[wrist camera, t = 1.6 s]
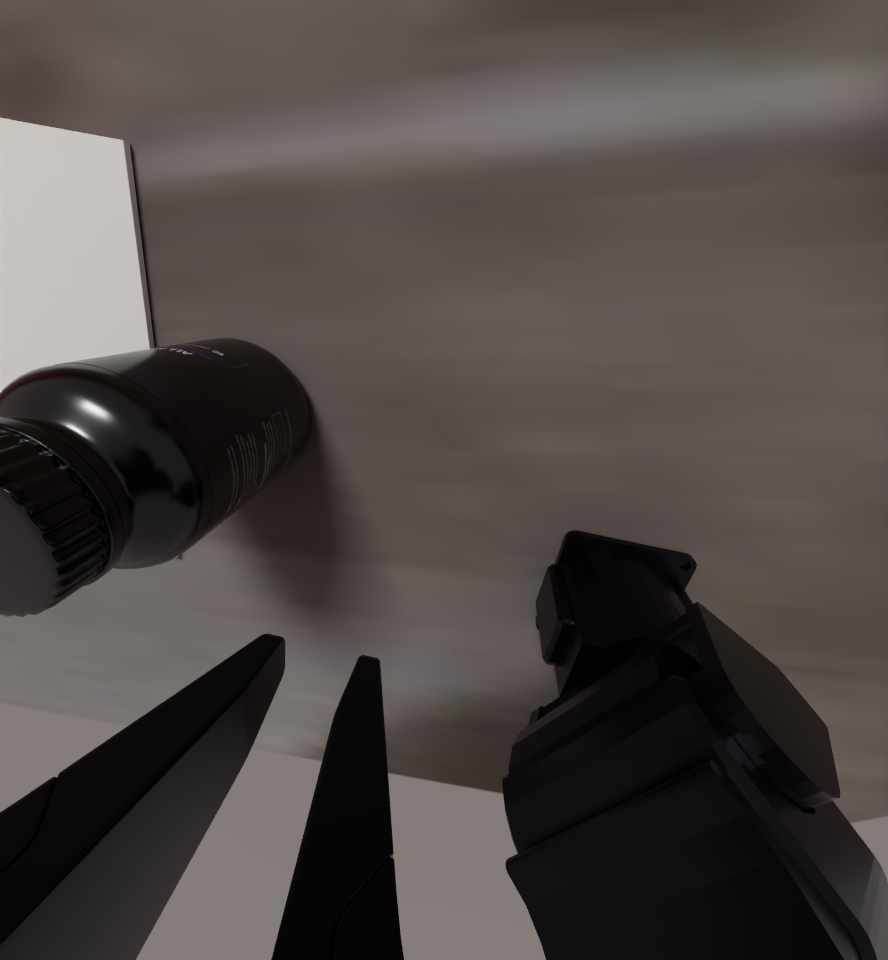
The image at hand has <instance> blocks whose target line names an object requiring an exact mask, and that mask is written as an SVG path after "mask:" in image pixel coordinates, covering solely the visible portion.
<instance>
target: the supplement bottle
mask: <svg viewBox="0 0 888 960" xmlns="http://www.w3.org/2000/svg"><path fill="white" fill-rule="evenodd" d="M309 430H310V415H309V409H308V404H307V401H306V398H305V395H304V392H303V390H302V388H301V386H300V384H299V383H298V381H297V379H296V378H295V377H294V375H293V374H292V373H291V371H290V370H289V369H288V368H287V367H286V366H285V365H284V364H283V363H282V362H281V361H280V360H279V359H278V358H277V357H276V356H274V355H273V354H271V353H270V352H268V351H267V350H265V349H264V348H262V347H260V346H258V345H255V344H253V343H250V342H247V341H243V340H238V339H230V338H221V339H211V340H203V341H197V342H191V343H185V344H179V345H172V346H166V347H160V348H154V349H148V350H141V351H135V352H129V353H123V354H117V355H110V356H104V357H98V358H92V359H86V360H79V361H73V362H67V363H61V364H55V365H52V366H46V367H42V368H39V369H35V370H32V371H30V372H28V373H25V374H23V375H21V376H19V377H18V378H16V379H15V380H14V381H12V382H11V383H9V384H8V385H7V386H6V387H5V388H4V389H3V390H2V391H1V392H0V614H2V615H5V616H12V615H15V616H20V617H24V616H26V615H28V614H31V615H36V614H38V613H41V612H43V611H44V610H46V609H48V608H51V607H53V606H55V605H56V604H58V603H59V602H61V601H62V600H64V599H65V598H66V597H68V596H69V595H71V594H72V593H74V592H75V591H76V590H78V589H79V588H81V587H82V586H86V585H89V584H91V583H94V582H95V581H97V580H98V579H100V578H101V577H102V576H104V575H105V574H106V573H107V572H109V571H110V570H111V569H112V568H115V569H137V568H144V567H150V566H154V565H158V564H162V563H165V562H167V561H170V560H172V559H174V558H176V557H177V556H179V555H181V554H182V553H184V552H185V551H186V550H188V549H189V548H190V547H192V546H193V545H194V544H196V543H197V542H198V541H199V540H201V539H202V538H203V537H204V536H206V535H207V534H208V533H209V532H211V531H212V530H213V529H214V528H215V527H217V526H218V525H219V524H220V523H222V522H223V521H224V520H225V519H227V518H228V517H229V516H230V515H231V514H233V513H234V512H235V511H236V510H238V509H239V508H240V507H241V506H243V505H244V504H245V503H246V502H247V501H249V500H250V499H251V498H252V497H254V496H255V495H256V494H257V493H259V492H260V491H261V490H262V489H263V488H265V487H266V486H267V485H268V484H270V483H271V482H272V481H273V480H275V479H276V478H277V477H278V476H279V475H281V474H282V473H283V472H284V471H285V470H286V469H288V468H289V467H290V466H291V465H292V464H293V463H294V462H295V461H296V460H297V459H298V458H299V456H300V455H301V453H302V452H303V450H304V448H305V446H306V443H307V440H308V436H309Z"/></svg>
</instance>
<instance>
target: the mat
mask: <svg viewBox="0 0 888 960" xmlns="http://www.w3.org/2000/svg"><path fill="white" fill-rule="evenodd" d="M154 348H155V347H154V339H153V331H152V323H151V315H150V306H149V298H148V290H147V282H146V274H145V266H144V257H143V249H142V241H141V233H140V225H139V217H138V208H137V200H136V192H135V184H134V176H133V167H132V159H131V151H130V143H128V142H126V141H124V140H118V139H113V138H108V137H102V136H97V135H91V134H86V133H80V132H75V131H69V130H64V129H58V128H53V127H48V126H42V125H37V124H31V123H26V122H20V121H15V120H9V119H4V118H0V392H1V391H2V390H3V389H4V388H5V387H6V386H7V385H8V384H9V383H11V382H12V381H14V380H15V379H16V378H18V377H19V376H21V375H23V374H25V373H28V372H30V371H32V370H35V369H39V368H42V367H46V366H52V365H55V364H61V363H67V362H73V361H79V360H86V359H92V358H98V357H104V356H110V355H117V354H123V353H129V352H135V351H141V350H148V349H154ZM179 556H180V555H179ZM177 557H178V556H177ZM177 557H176V558H177Z"/></svg>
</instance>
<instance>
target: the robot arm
mask: <svg viewBox="0 0 888 960" xmlns="http://www.w3.org/2000/svg"><path fill="white" fill-rule="evenodd" d="M573 539H578V540H579V541H578V542H577V543H571V541H572V540H573ZM684 562H688V563H687V564H686V565H684V566H680V565H681V564H682V563H684ZM696 566H697V564H696V562H695V560H694V559H693V558H692V556H691V555H689V554H686V553H681V552H677V551H672V550H667V549H662V548H658V547H653V546H648V545H643V544H638V543H634V542H629V541H624V540H619V539H615V538H610V537H605V536H600V535H595V534H591V533H586V532H581V531H570V532H568V533H567V534H566V535H565V537H564V539H563V542H562V545H561V548H560V551H559V554H558V557H557V559H556V562H555V565H554V564H552V565H551V566H549V567H548V568H547V571H546V574H545V577H544V580H543V583H542V586H541V589H540V592H539V594H538V597H537V600H536V609H537V616H536V627H537V629H539V633H540V641H541V649H542V657H543V659H544V661H545V663H546V664H549V665H554V667H555V674H556V680H557V687H558V693H559V698H558V699H556V700H555V701H553V702H551V703H550V704H548V705H547V706H545V707H543V706H541V707H539V708H538V709H536V710H535V711H533V712H532V714H531V717H530V721H529V725H528V727H527V728H525V729H523V730H522V731H521V732H520V734H519V736H518V737H517V739H516V741H515V742H514V744H513V746H512V752H511V758H510V765H509V774H508V775H506V776H505V777H504V778H503V782H502V785H503V795H504V803H505V812H506V816H507V820H508V824H509V828H510V832H511V836H512V840H513V842H514V845H515V847H516V850H517V853H518V854H517V855H515V856H513V857H510V858H508V859H507V861H506V870H507V872H508V874H509V876H510V878H511V879H512V881H513V883H514V885H515V887H516V888H517V890H518V892H519V894H520V895H521V897H522V899H523V901H524V903H525V904H526V906H527V909H528V911H529V914H530V916H531V919H532V921H533V924H534V926H535V929H536V931H537V934H538V936H539V939H540V941H541V943H542V947H543V951H544V954H545V957H546V960H888V882H887V879H886V876H885V874H884V871H883V869H882V867H881V865H880V864H879V862H878V861H877V859H876V857H875V856H874V855H873V853H872V852H871V851H870V849H869V848H868V847H867V845H866V844H865V843H864V841H863V840H862V839H861V838H860V836H859V835H858V834H857V832H856V831H855V830H854V828H853V827H852V826H851V824H850V823H849V822H848V820H847V819H846V818H845V816H844V815H843V814H842V812H841V811H840V810H839V808H838V807H837V806H836V804H835V803H834V802H833V800H836V799H838V798H840V788H839V783H838V778H837V773H836V768H835V763H834V758H833V753H832V748H831V743H830V738H829V733H828V728H827V726H826V725H825V723H824V722H823V721H822V720H821V718H820V717H819V716H818V715H817V713H816V712H815V711H814V710H813V709H812V708H811V706H810V705H809V704H808V703H807V702H806V700H805V699H804V698H803V697H802V696H801V694H800V693H799V692H798V691H797V690H796V688H795V687H794V686H793V685H792V684H791V682H790V681H789V680H788V679H787V678H786V676H785V675H784V674H783V673H782V672H781V671H780V670H779V669H778V667H776V666H775V665H774V664H773V663H772V662H770V661H769V660H768V659H767V658H766V657H764V656H763V655H762V654H761V653H760V652H758V651H757V650H756V649H755V648H753V647H752V646H751V645H750V644H749V643H747V642H746V641H745V640H744V639H743V638H741V637H740V636H739V635H738V634H736V633H735V632H734V631H733V630H732V629H730V628H729V627H728V626H727V625H726V624H724V623H723V622H722V621H721V620H719V619H718V618H717V617H716V616H715V615H713V614H712V613H711V612H710V611H708V610H707V609H706V608H705V607H704V606H702V605H701V604H700V603H699V602H696V603H695V604H693V603H692V601H691V600H690V598H689V596H688V595H687V593H686V592H685V588H686V586H687V584H688V582H689V581H690V579H691V577H692V575H693V573H694V571H695V569H696ZM284 669H285V640H284V638H283V637H280V636H276V635H271V634H263V635H261V636H260V637H258V638H257V639H255V640H254V641H252V642H251V643H249V644H248V645H246V646H245V647H243V648H242V649H240V650H239V651H238V652H236V653H235V654H233V655H232V656H230V657H229V658H227V659H226V660H224V661H223V662H221V663H220V664H218V665H217V666H215V667H214V668H213V669H211V670H210V671H208V672H207V673H205V674H204V675H202V676H201V677H199V678H198V679H196V680H195V681H193V682H192V683H191V684H189V685H188V686H186V687H185V688H183V689H182V690H180V691H179V692H177V693H176V694H174V695H173V696H171V697H170V698H169V699H167V700H166V701H164V702H163V703H161V704H160V705H158V706H157V707H155V708H154V709H152V710H151V711H149V712H148V713H147V714H145V715H144V716H142V717H141V718H139V719H138V720H136V721H135V722H133V723H132V724H130V725H129V726H127V727H126V728H125V729H123V730H122V731H120V732H119V733H117V734H116V735H114V736H113V737H111V738H110V739H108V740H107V741H106V742H104V743H103V744H101V745H100V746H98V747H97V748H95V749H94V750H92V751H91V752H89V753H88V754H86V755H85V756H83V757H82V758H80V759H79V760H78V761H76V762H75V763H73V764H72V765H70V766H69V767H68V768H66V769H64V770H63V771H61V772H60V773H59V775H58V777H53V778H51V779H49V780H48V781H46V782H45V783H44V784H42V785H41V786H39V787H38V788H36V789H35V790H33V791H32V792H30V793H29V794H27V795H26V796H25V797H23V798H22V799H20V800H18V801H17V802H15V803H14V804H12V805H11V806H9V807H8V808H6V809H5V810H3V811H2V812H0V960H136V958H137V956H138V955H139V953H140V951H141V949H142V947H143V945H144V944H145V942H146V940H147V938H148V936H149V935H150V933H151V931H152V929H153V927H154V925H155V924H156V922H157V920H158V918H159V917H160V915H161V913H162V911H163V909H164V907H165V906H166V904H167V902H168V900H169V898H170V897H171V895H172V893H173V891H174V889H175V888H176V886H177V884H178V882H179V880H180V879H181V877H182V875H183V873H184V871H185V870H186V868H187V866H188V864H189V862H190V860H191V859H192V857H193V855H194V853H195V851H196V850H197V848H198V846H199V844H200V842H201V841H202V839H203V837H204V835H205V833H206V831H207V830H208V828H209V826H210V824H211V822H212V821H213V819H214V817H215V815H216V814H217V812H218V810H219V808H220V806H221V804H222V803H223V801H224V799H225V797H226V795H227V794H228V792H229V790H230V788H231V786H232V784H233V783H234V781H235V779H236V777H237V775H238V773H239V772H240V770H241V768H242V766H243V764H244V762H245V760H246V758H247V757H248V754H249V752H250V750H251V748H252V746H253V743H254V741H255V739H256V737H257V734H258V732H259V730H260V727H261V725H262V723H263V720H264V718H265V716H266V713H267V711H268V709H269V707H270V704H271V702H272V700H273V697H274V695H275V693H276V690H277V688H278V686H279V684H280V681H281V679H282V676H283V673H284ZM392 857H393V840H392V827H391V812H390V797H389V783H388V769H387V754H386V740H385V726H384V712H383V697H382V683H381V669H380V661H379V659H378V658H374V657H370V656H365V655H361V656H360V657H359V658H358V660H357V662H356V665H355V667H354V669H353V672H352V674H351V676H350V679H349V681H348V683H347V686H346V688H345V690H344V693H343V695H342V697H341V700H340V702H339V704H338V707H337V709H336V712H335V715H334V718H333V722H332V725H331V729H330V733H329V737H328V741H327V745H326V749H325V753H324V757H323V760H322V764H321V768H320V773H319V776H318V780H317V784H316V788H315V792H314V796H313V799H312V803H311V808H310V811H309V815H308V819H307V823H306V827H305V831H304V835H303V839H302V842H301V846H300V850H299V854H298V858H297V862H296V866H295V870H294V874H293V878H292V881H291V885H290V889H289V893H288V897H287V901H286V905H285V909H284V913H283V917H282V920H281V925H280V928H279V932H278V936H277V940H276V944H275V948H274V952H273V956H272V959H271V960H404V956H403V950H402V943H401V935H400V925H399V915H398V904H397V893H396V882H395V881H396V880H395V867H394V859H393V858H392Z"/></svg>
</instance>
